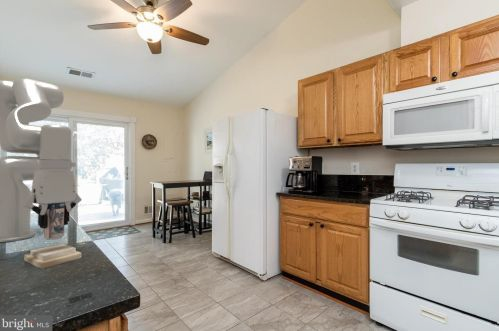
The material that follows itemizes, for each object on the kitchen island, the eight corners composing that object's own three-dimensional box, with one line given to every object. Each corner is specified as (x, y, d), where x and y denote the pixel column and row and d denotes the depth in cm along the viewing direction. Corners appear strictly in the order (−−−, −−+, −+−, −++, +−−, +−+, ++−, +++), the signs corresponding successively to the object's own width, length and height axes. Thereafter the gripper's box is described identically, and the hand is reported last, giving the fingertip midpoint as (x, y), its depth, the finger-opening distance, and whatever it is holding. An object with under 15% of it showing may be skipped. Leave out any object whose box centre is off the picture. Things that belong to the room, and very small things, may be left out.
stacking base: (23, 260, 73) (24, 250, 73) (62, 250, 82) (62, 241, 82) (41, 269, 67) (41, 258, 67) (81, 257, 76) (81, 248, 76)
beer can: (52, 241, 72) (53, 199, 72) (39, 239, 73) (40, 199, 73) (67, 236, 77) (68, 198, 77) (55, 235, 78) (56, 197, 78)
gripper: (79, 166, 84) (78, 219, 84) (13, 165, 70) (12, 230, 69) (91, 166, 80) (90, 222, 80) (24, 165, 66) (23, 234, 66)
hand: (54, 225), depth 75 cm, fingers closed on beer can, 4 cm apart
